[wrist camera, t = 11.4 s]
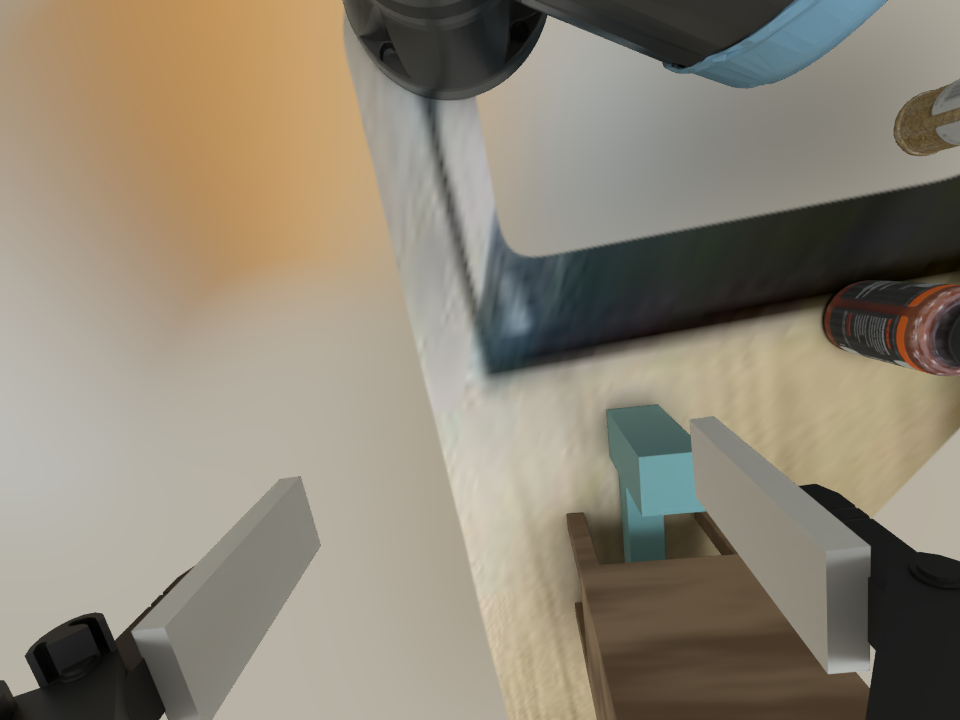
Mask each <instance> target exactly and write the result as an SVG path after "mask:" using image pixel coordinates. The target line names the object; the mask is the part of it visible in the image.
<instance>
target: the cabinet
mask: <svg viewBox="0 0 960 720" xmlns="http://www.w3.org/2000/svg"><path fill="white" fill-rule="evenodd" d="M695 519H696V521H697V522H698V523H699V525H700V526H701V527H702V529H703V530H704V532H705V533H706V534H707V536H708V537H709V538H710V540H711V541H712V542H713V544H714V545H715V547H716V548H717V549H718V551H719V552H720V553H721V555H720V556H707V557H693V558H680V559H667V560H654V561H641V562H628V563H615V564H602V565H599V563H598V560H597V556H596V553H595V550H594V547H593V544H592V540H591V537H590V534H589V531H588V527H587V524H586V521H585V518H584V514H583V513H573V514H567V524H568V531H569V535H570V539H571V544H572V548H573V552H574V556H575V561H576V565H577V569H578V573H579V578H580V582H581V591H582V602H581V603H575V609H576V618H577V623H578V628H579V633H580V638H581V643H582V648H583V653H584V658H585V663H586V668H587V673H588V678H589V683H590V687H591V692H592V697H593V702H594V707H595V712H596V717H597V720H865V718H866V711H867V705H868V698H869V692H870V688H869V687H868V686H867V685H866V684H865V682H864V681H863V680H862V679H861V678H860V676H859V675H858V674H857V673H856V672H847V673H836V674H827V672H826V671H825V670H824V668H823V667H822V666H821V664H820V663H819V662H818V660H817V659H816V657H815V656H814V655H813V653H812V652H811V651H810V649H809V648H808V647H807V645H806V644H805V643H804V641H803V640H802V639H801V637H800V636H799V635H798V633H797V632H796V631H795V629H794V628H793V627H792V625H791V624H790V623H789V621H788V620H787V619H786V617H785V616H784V615H783V613H782V612H781V611H780V609H779V608H778V607H777V605H776V604H775V602H774V601H773V600H772V598H771V597H770V596H769V594H768V593H767V592H766V590H765V589H764V588H763V586H762V585H761V584H760V582H759V581H758V580H757V578H756V577H755V576H754V574H753V573H752V572H751V570H750V569H749V568H748V566H747V565H746V564H745V562H744V561H743V560H742V558H741V557H740V556H739V554H738V553H737V552H736V550H735V549H734V548H733V546H732V545H731V543H730V542H729V541H728V539H727V538H726V537H725V535H724V534H723V533H722V531H721V530H720V529H719V527H718V526H717V525H716V523H715V522H714V521H713V519H712V518H711V517H710V515H709V514H708V513H707V511H704V512H695Z"/></svg>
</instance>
